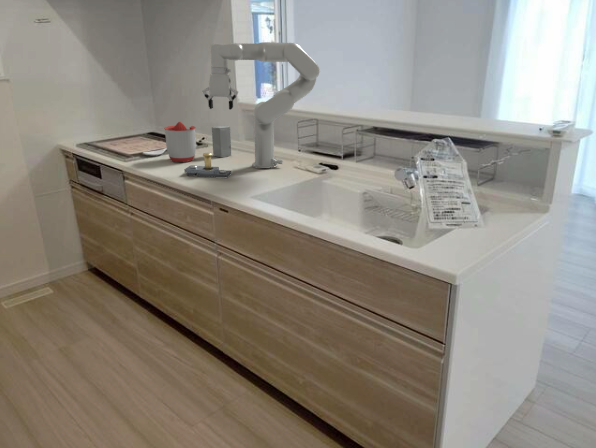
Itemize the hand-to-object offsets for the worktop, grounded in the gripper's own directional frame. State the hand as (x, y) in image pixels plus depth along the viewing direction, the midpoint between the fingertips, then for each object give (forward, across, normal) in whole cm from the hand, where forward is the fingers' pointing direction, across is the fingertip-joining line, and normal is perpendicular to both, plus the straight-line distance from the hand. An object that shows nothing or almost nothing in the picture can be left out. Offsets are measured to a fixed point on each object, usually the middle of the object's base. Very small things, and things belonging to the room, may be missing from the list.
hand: (220, 108), depth 234 cm
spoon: (+29, +39, -26) cm, 55 cm away
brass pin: (+28, +2, +17) cm, 33 cm away
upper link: (+28, +5, +17) cm, 33 cm away
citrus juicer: (+28, +25, -10) cm, 39 cm away
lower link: (+28, -1, +17) cm, 33 cm away
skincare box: (+28, +8, -24) cm, 38 cm away
